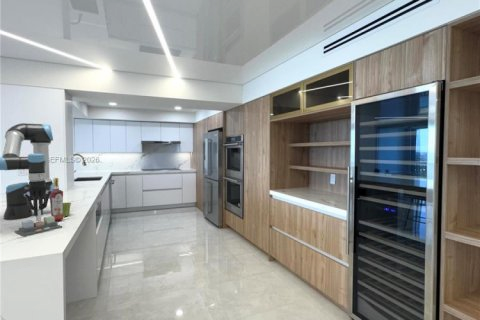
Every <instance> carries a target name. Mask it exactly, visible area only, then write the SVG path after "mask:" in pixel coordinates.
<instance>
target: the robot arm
mask: <svg viewBox="0 0 480 320" xmlns="http://www.w3.org/2000/svg"><path fill="white" fill-rule="evenodd" d="M4 138H5V143H4V148H3V152H2V156H0V171H16V170H17V171H18V170H27V171H28V182H27V181H25V182H19V183H12V184H9V185H7V186H6V187H5V196H6V197H5V198H6V208H5V211H4V213H3V220H6V221H7V220H8V221H9V220H10V221H11V220H19V219H20V220H21V219H26V218H29V217H32V216H35V221H36V222H40V221H42V216H43V215H44V210H45V209H46V208H47V207H48V202H49V200H50V193H51V191H53V188H54V182H53V179H52V178H51V177H50V156H49V155H50V154H49V151H50V150H49V146H50V145H51V143H52V141H54V136H53V132H52V126H51V125H50V124H48V123H47V124H45V123H25V122H23V123H17V124H14V125H13V126H11V127H10V128H8V129H7V130H6V132H5V135H4ZM24 141H29V143H30V145H32V148H33V149H32V150H33V153H29V154H28V155H27V156H20V154H21V148H22V142H24Z"/></svg>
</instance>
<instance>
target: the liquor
mask: <svg viewBox="0 0 480 320" xmlns="http://www.w3.org/2000/svg"><path fill="white" fill-rule="evenodd" d="M52 182H53V183H54V188H53V191H51V193H50V199H49V204H50V214H51V215H50V216H53V217H55V222H61V221H62V220H63V219H64V217H63V203H64V191H63V190H61V189H60V186H59V177H54V178H52Z"/></svg>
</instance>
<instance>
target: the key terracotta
mask: <svg viewBox="0 0 480 320" xmlns="http://www.w3.org/2000/svg"><path fill="white" fill-rule="evenodd" d="M41 225H45V222H44V221H42V220H41V221H39V222H38V221H36V222H34V226H35V227H37V226H41Z"/></svg>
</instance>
